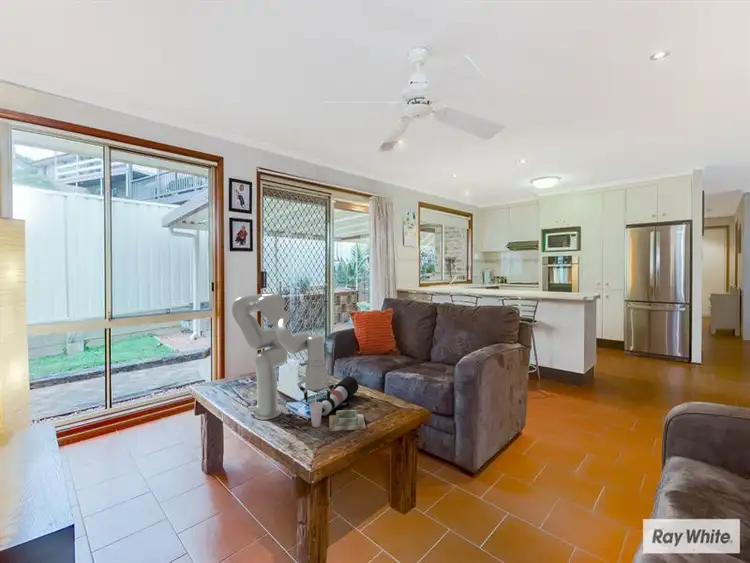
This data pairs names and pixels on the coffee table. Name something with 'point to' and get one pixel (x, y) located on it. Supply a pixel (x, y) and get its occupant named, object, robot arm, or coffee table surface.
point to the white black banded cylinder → (340, 394)
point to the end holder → (346, 420)
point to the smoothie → (316, 412)
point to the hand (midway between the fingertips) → (317, 400)
